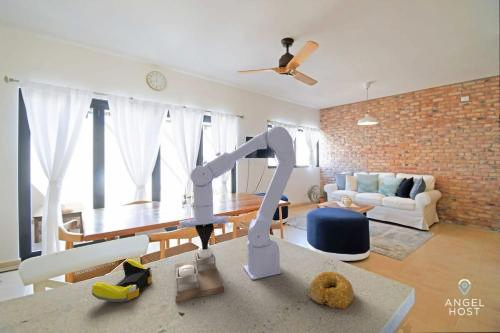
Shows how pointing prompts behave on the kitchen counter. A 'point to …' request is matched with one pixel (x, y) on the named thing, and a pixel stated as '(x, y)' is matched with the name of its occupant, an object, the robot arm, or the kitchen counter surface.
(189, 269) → the knob left
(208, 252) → the knob right
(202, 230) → the robot arm
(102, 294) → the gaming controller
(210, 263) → the knob board
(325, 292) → the bagel
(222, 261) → the kitchen counter surface
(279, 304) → the kitchen counter surface
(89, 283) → the kitchen counter surface
